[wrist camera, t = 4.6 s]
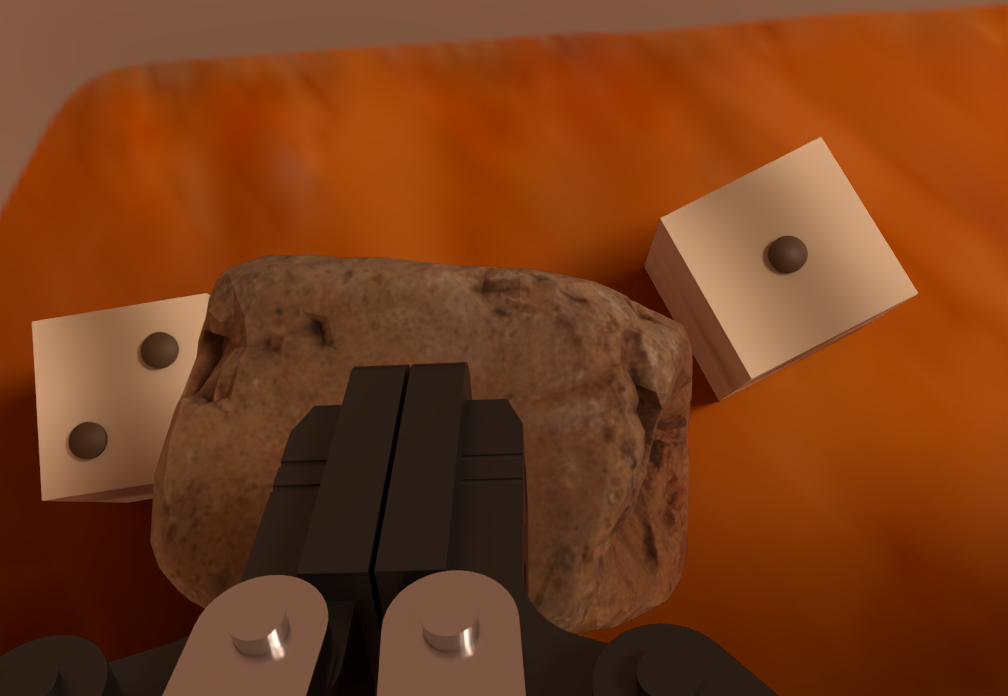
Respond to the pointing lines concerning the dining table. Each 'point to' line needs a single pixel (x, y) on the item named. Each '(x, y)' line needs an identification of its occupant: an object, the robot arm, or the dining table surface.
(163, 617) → the dining table surface
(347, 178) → the dining table surface
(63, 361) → the dotted cube two
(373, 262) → the block
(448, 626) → the robot arm
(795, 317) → the dotted cube one
